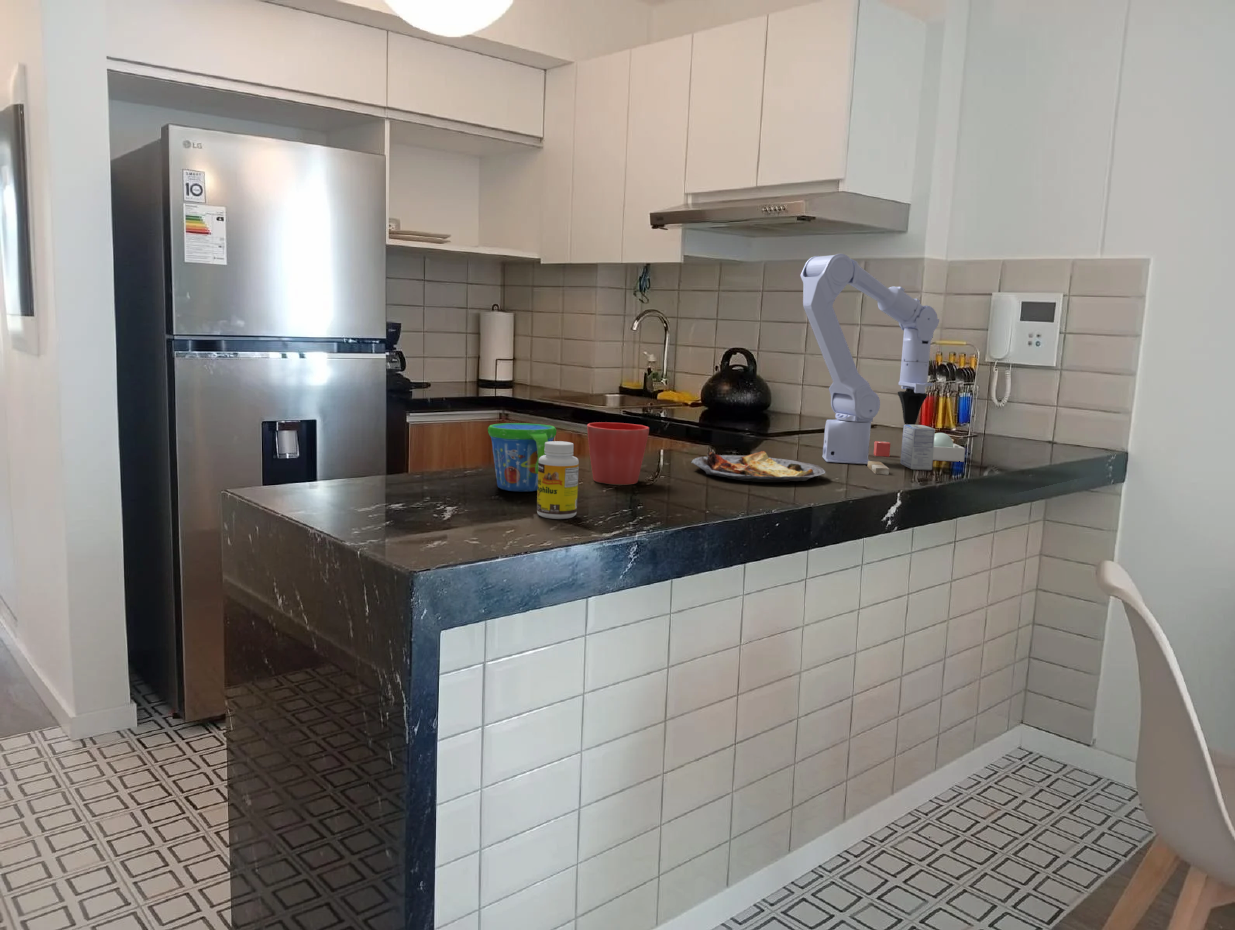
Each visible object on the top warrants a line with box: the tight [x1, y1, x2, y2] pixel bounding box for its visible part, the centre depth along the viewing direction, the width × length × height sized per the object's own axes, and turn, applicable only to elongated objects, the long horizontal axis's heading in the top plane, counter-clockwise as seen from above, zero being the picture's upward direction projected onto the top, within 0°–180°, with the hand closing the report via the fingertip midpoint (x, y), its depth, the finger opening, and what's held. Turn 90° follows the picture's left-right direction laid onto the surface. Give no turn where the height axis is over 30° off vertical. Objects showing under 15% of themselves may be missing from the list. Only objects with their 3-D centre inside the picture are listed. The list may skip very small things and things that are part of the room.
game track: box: [867, 460, 890, 476], centre depth 186 cm, size 2×10×1 cm, turn 174°
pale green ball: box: [934, 432, 954, 447], centre depth 210 cm, size 6×6×6 cm
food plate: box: [690, 450, 826, 483], centre depth 174 cm, size 25×23×4 cm
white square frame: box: [933, 443, 966, 463], centre depth 210 cm, size 9×9×3 cm
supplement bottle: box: [536, 440, 580, 520], centre depth 128 cm, size 6×6×10 cm
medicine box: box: [900, 424, 936, 471], centre depth 193 cm, size 8×4×9 cm, turn 179°
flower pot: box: [586, 421, 650, 486], centre depth 159 cm, size 11×11×10 cm
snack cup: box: [487, 422, 557, 493], centre depth 147 cm, size 16×10×10 cm
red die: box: [873, 440, 891, 458], centre depth 210 cm, size 3×3×3 cm
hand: (909, 424), depth 201 cm, fingers closed
